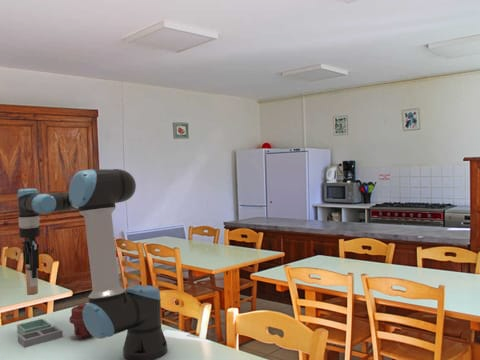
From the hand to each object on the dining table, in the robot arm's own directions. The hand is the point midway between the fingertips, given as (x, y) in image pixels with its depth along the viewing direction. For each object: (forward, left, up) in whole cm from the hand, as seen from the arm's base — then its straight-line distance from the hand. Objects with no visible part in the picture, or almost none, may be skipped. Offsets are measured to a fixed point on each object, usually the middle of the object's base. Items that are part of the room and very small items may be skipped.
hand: (32, 284), depth 182 cm
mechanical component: (-21, -12, -19) cm, 31 cm away
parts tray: (0, 0, -19) cm, 19 cm away
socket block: (-11, +1, -19) cm, 22 cm away
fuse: (0, 0, -4) cm, 4 cm away
